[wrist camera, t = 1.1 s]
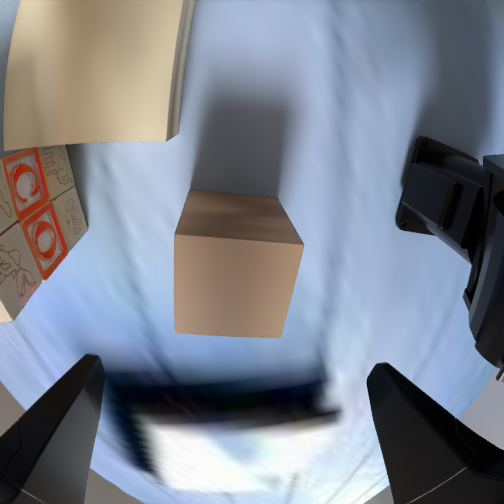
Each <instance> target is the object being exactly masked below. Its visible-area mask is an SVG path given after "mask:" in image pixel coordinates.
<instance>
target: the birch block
mask: <svg viewBox="0 0 504 504" xmlns="http://www.w3.org/2000/svg"><path fill="white" fill-rule="evenodd" d="M194 4H195V0H21V1H20V4H19V8H18V12H17V16H16V20H15V24H14V29H13V33H12V38H11V44H10V50H9V56H8V63H7V71H6V81H5V94H4V118H3V134H4V151H11V150H18V149H25V148H33V147H43V146H53V145H64V144H78V143H96V142H166V141H168V140H170V139H171V138H173V137H174V136H176V135H177V134H178V131H179V118H180V107H181V97H182V87H183V78H184V70H185V62H186V54H187V47H188V40H189V34H190V27H191V21H192V15H193V10H194Z"/></svg>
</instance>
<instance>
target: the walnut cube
mask: <svg viewBox="0 0 504 504" xmlns="http://www.w3.org/2000/svg"><path fill="white" fill-rule="evenodd" d="M303 248H304V243H303V242H302V240H301V238H300V236H299V235H298V233H297V231H296V229H295V228H294V226H293V224H292V222H291V221H290V219H289V217H288V215H287V214H286V212H285V210H284V209H283V207H282V205H281V203H280V202H279V200H278V198H270V197H261V196H252V195H242V194H231V193H220V192H209V191H196V190H189V193H188V196H187V199H186V202H185V205H184V207H183V210H182V213H181V216H180V219H179V222H178V225H177V228H176V231H175V235H174V318H175V333H183V334H196V335H212V336H231V337H261V338H280V337H281V334H282V330H283V326H284V323H285V319H286V315H287V312H288V308H289V304H290V300H291V296H292V293H293V289H294V285H295V281H296V277H297V273H298V269H299V265H300V261H301V257H302V253H303Z"/></svg>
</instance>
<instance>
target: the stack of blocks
mask: <svg viewBox="0 0 504 504" xmlns="http://www.w3.org/2000/svg"><path fill="white" fill-rule="evenodd" d="M87 231H88V227H87V224H86V221H85V217H84V214H83V211H82V207H81V204H80V201H79V197H78V194H77V190H76V187H75V181H74V177H73V173H72V169H71V165H70V161H69V157H68V152H67V148H66V144H64V145H53V146H43V147H33V148H27V149H24V150H22V151H19V152H16V153H13V154H11V155H8V156H6V157H3V158H1V159H0V322H2V323H6V322H13V321H14V320H15V318H16V317H17V316H18V314H19V313H20V312H21V310H22V309H23V308H24V306H25V305H26V303H27V302H28V300H29V299H30V297H31V296H32V295H33V294H34V292H35V291H36V290H37V288H38V287H39V286H40V284H41V283H42V282H43V281H46V280H47V279H48V278H49V277H50V275H51V274H52V273H53V272H54V270H55V269H56V268H57V267H58V266H59V264H60V263H61V262H62V260H63V259H64V258H65V257H66V256H67V254H68V252H69V251H70V250H71V249H72V248H73V247H74V246H75V244H76V243H77V242H78V241H79V240H80V239H81V237H82V236H83V235H84V234H85V233H86V232H87Z"/></svg>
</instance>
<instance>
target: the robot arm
mask: <svg viewBox="0 0 504 504" xmlns="http://www.w3.org/2000/svg"><path fill="white" fill-rule="evenodd" d="M423 142H425V145H424V147H423ZM402 221H404V223H403V224H402ZM401 224H402V225H401ZM396 226H397V227H398V228H399V229H400V230H403V231H409V232H416V233H422V234H428V235H434V236H437V237H438V238H440V239H441V240H442V241H443V242H445V243H446V244H447V245H448V246H450V247H451V248H452V249H453V250H455V251H456V252H457V253H458V254H459V255H461V256H462V257H463V258H464V259H465V260H467V261H468V262H469V263H470V264H471V265H472V267H471V272H470V276H469V280H468V284H467V288H466V289H465V291H464V294H463V299H464V301H465V304H466V306H467V308H468V311H469V327H470V329H471V332H472V334H473V337H474V339H475V341H476V343H475V348H476V350H477V351H478V352H479V353H480V354H481V355H482V357H483V358H485V359H486V360H487V361H488V362H490V363H491V364H492V365H494V366H495V367H497V368H500V371H499V372H498V374H497V376H496V379H497V380H498V381H500V382H504V154H501V155H488V156H483V165H480V164H479V161H478V160H477V159H475V158H473V157H471V156H469V155H467V154H465V153H463V152H460V151H458V150H456V149H454V148H452V147H449V146H447V145H445V144H442V143H440V142H438V141H435V140H433V139H430V138H428V137H424V136H420V137H419V138H418V139H417V141H416V146H415V151H414V155H413V159H412V164H411V167H410V171H409V175H408V179H407V183H406V187H405V190H404V194H403V197H402V202H401V205H400V208H399V212H398V215H397V218H396ZM104 382H105V371H104V368H103V365H102V361H101V358H100V356H99V355H96V354H90V353H88V354H86V355H84V356H83V357H82V358H81V359H80V360H79V361H78V362H77V363H76V364H75V365H74V366H73V367H71V368H70V369H69V370H68V371H67V372H66V373H65V374H64V375H63V376H62V377H61V378H60V379H59V380H58V381H57V382H56V383H55V384H54V385H53V386H52V387H50V388H49V389H48V390H47V391H46V392H45V393H44V394H43V395H42V396H41V397H40V398H39V399H38V400H37V401H36V402H35V403H34V404H33V405H32V406H31V407H30V408H29V409H28V410H27V411H26V412H25V413H24V414H23V415H22V416H21V417H20V418H19V419H18V421H16V422H15V423H14V424H13V425H12V426H11V427H10V428H9V429H8V430H7V431H6V432H5V433H4V434H3V435H2V436H1V437H0V504H84V499H85V492H86V485H87V479H88V473H89V468H90V462H91V457H92V452H93V447H94V442H95V438H96V433H97V429H98V424H99V419H100V412H101V404H102V396H103V388H104ZM367 389H368V394H369V400H370V405H371V411H372V417H373V421H374V425H375V429H376V432H377V436H378V440H379V443H380V447H381V451H382V455H383V459H384V463H385V467H386V471H387V475H388V479H389V483H390V487H391V492H392V496H393V501H394V504H504V450H502V449H500V448H498V447H496V446H495V445H493V444H492V443H490V442H489V441H487V440H486V439H484V438H482V437H481V436H479V435H478V434H477V433H475V432H474V431H472V430H471V429H470V428H468V427H467V426H466V425H464V424H463V423H462V422H461V421H459V420H458V419H457V418H455V417H454V416H453V415H452V414H451V413H449V412H448V411H447V410H446V409H444V408H443V407H442V406H441V405H439V404H438V403H437V402H436V401H434V400H433V399H432V398H431V397H430V396H428V395H427V394H426V393H425V392H423V391H422V390H421V389H420V388H418V387H417V386H416V385H415V384H413V383H412V382H411V381H410V380H408V379H407V378H406V377H405V376H404V375H402V374H401V373H400V372H399V371H397V370H396V369H395V368H394V367H392V366H391V365H390V364H389V363H386V362H383V363H377V364H376V365H375V366H374V368H373V369H372V371H371V373H370V374H369V376H368V378H367Z"/></svg>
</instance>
